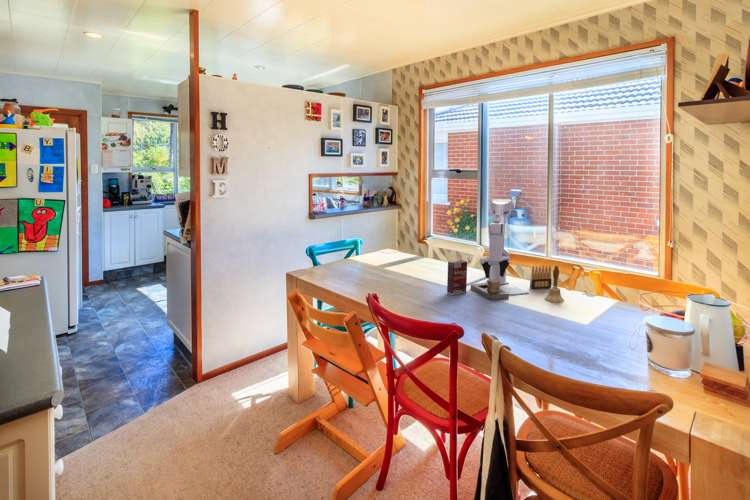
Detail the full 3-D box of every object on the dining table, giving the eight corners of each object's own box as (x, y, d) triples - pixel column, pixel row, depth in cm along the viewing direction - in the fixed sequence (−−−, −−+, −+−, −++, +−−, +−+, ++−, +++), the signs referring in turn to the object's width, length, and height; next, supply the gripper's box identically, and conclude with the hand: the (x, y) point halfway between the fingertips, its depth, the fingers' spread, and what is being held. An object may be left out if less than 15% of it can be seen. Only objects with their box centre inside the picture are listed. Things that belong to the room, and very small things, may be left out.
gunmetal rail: (470, 289, 212) (470, 284, 211) (486, 287, 214) (486, 282, 214) (491, 300, 193) (491, 295, 192) (508, 298, 195) (508, 293, 195)
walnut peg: (487, 295, 201) (487, 280, 200) (494, 294, 202) (495, 279, 201) (491, 297, 197) (492, 282, 196) (499, 296, 198) (499, 281, 197)
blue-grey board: (499, 289, 209) (499, 288, 209) (516, 288, 212) (516, 286, 212) (510, 295, 200) (510, 294, 200) (528, 293, 202) (528, 292, 202)
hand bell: (567, 300, 191) (570, 266, 188) (555, 303, 187) (558, 269, 184) (552, 296, 198) (554, 263, 195) (540, 299, 194) (542, 265, 191)
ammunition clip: (531, 289, 209) (532, 266, 206) (529, 288, 211) (530, 265, 208) (551, 288, 210) (552, 265, 208) (549, 287, 212) (550, 264, 210)
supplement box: (453, 295, 202) (453, 263, 199) (446, 293, 206) (447, 261, 203) (467, 293, 206) (467, 261, 202) (460, 290, 210) (461, 259, 207)
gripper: (486, 251, 189) (485, 280, 192) (514, 249, 193) (512, 277, 196) (478, 248, 196) (477, 276, 199) (505, 246, 200) (504, 274, 203)
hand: (494, 277), depth 198 cm, fingers open, 7 cm apart
